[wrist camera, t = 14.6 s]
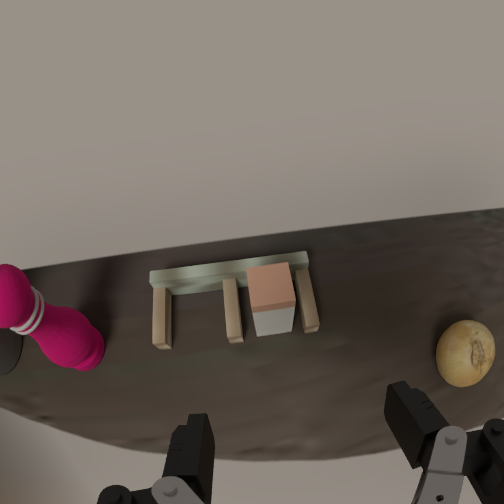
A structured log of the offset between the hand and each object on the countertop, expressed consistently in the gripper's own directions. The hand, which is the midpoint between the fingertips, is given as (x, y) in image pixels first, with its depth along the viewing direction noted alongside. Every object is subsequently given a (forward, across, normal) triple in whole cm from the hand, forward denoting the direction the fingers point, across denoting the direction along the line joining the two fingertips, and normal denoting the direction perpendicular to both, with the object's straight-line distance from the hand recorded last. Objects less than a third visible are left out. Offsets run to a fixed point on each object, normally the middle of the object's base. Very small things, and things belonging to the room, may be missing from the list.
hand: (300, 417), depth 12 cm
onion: (+16, -22, +13) cm, 30 cm away
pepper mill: (+22, +24, +8) cm, 34 cm away
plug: (+24, 0, +6) cm, 24 cm away
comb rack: (+24, +4, +5) cm, 25 cm away
